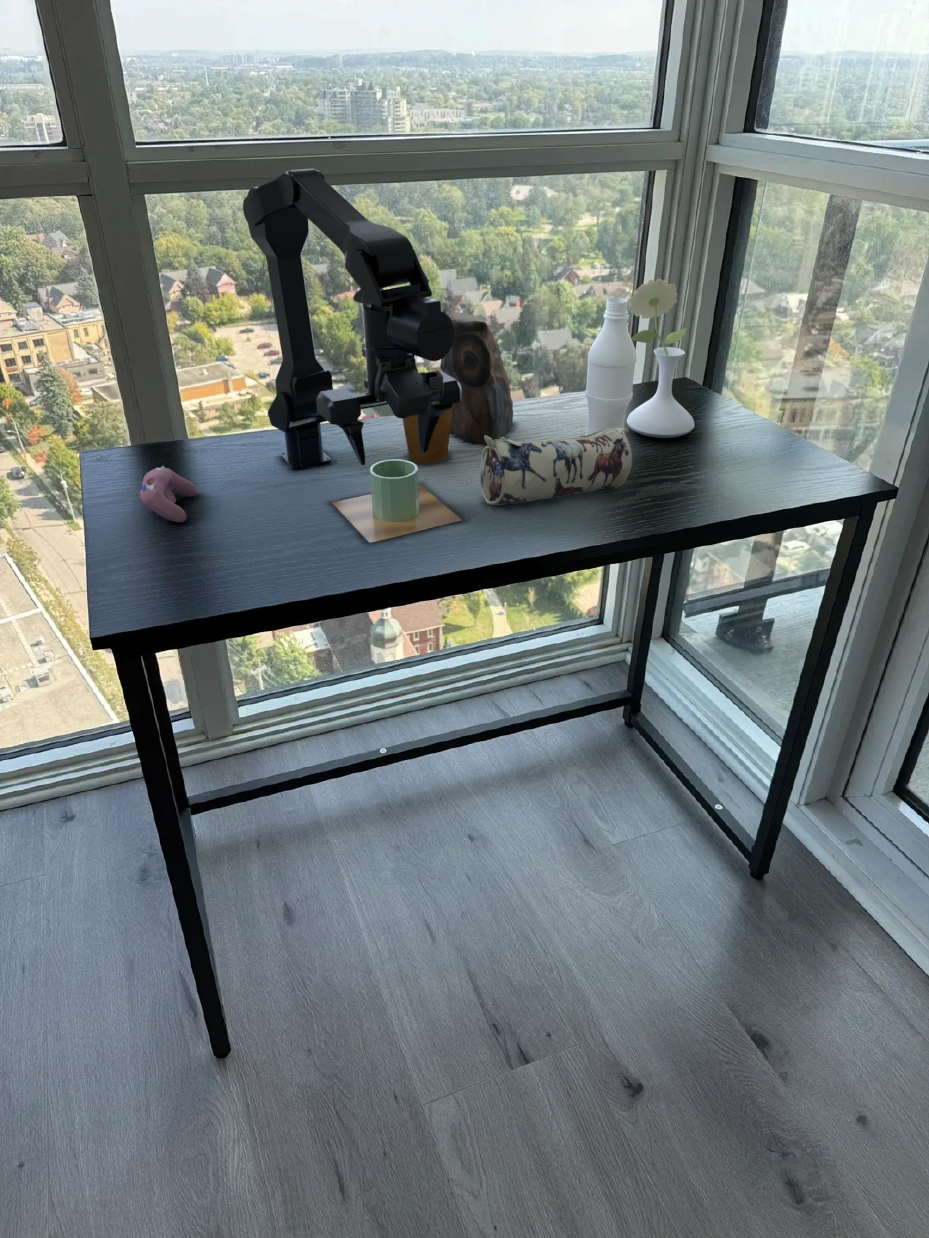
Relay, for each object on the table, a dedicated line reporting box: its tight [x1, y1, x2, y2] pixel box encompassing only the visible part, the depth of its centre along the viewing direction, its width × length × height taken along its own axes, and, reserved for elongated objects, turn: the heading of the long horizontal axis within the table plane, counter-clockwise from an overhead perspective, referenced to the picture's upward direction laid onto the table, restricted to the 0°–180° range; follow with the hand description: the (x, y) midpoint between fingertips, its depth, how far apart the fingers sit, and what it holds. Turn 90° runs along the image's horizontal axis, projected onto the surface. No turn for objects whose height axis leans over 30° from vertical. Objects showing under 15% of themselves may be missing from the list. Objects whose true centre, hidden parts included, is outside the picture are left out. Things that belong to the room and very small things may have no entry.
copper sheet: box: [331, 482, 463, 544], centre depth 123 cm, size 14×14×1 cm
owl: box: [439, 306, 514, 447], centre depth 143 cm, size 13×13×20 cm
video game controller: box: [139, 465, 198, 523], centre depth 122 cm, size 10×5×7 cm, turn 5°
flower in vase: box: [626, 278, 695, 439], centre depth 142 cm, size 13×11×25 cm
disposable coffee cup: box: [402, 407, 453, 464], centre depth 136 cm, size 10×10×12 cm
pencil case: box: [479, 427, 633, 506], centre depth 125 cm, size 22×8×10 cm, turn 108°
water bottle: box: [584, 297, 637, 436], centre depth 130 cm, size 7×7×25 cm
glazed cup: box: [369, 458, 419, 522], centre depth 121 cm, size 7×7×6 cm
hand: (393, 458), depth 118 cm, fingers open, 9 cm apart
